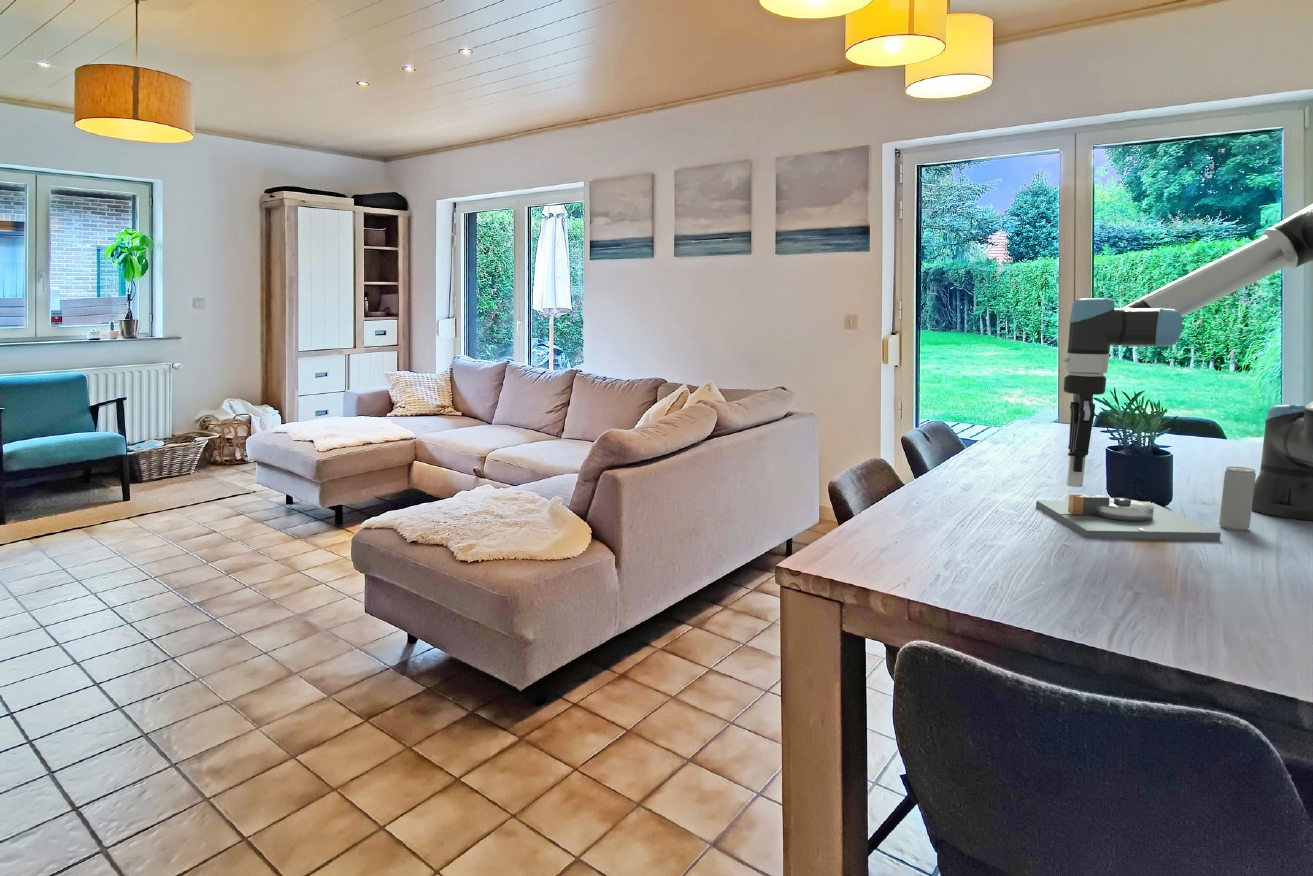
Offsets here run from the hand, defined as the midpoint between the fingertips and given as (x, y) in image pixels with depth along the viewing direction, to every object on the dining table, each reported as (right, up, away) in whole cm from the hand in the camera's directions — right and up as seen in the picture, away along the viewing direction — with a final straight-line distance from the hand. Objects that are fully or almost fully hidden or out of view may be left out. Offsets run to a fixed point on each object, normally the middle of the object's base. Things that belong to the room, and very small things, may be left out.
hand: (1074, 485), depth 159 cm
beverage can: (+27, -8, -9) cm, 29 cm away
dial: (+5, -5, -5) cm, 9 cm away
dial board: (+7, -7, -5) cm, 11 cm away
